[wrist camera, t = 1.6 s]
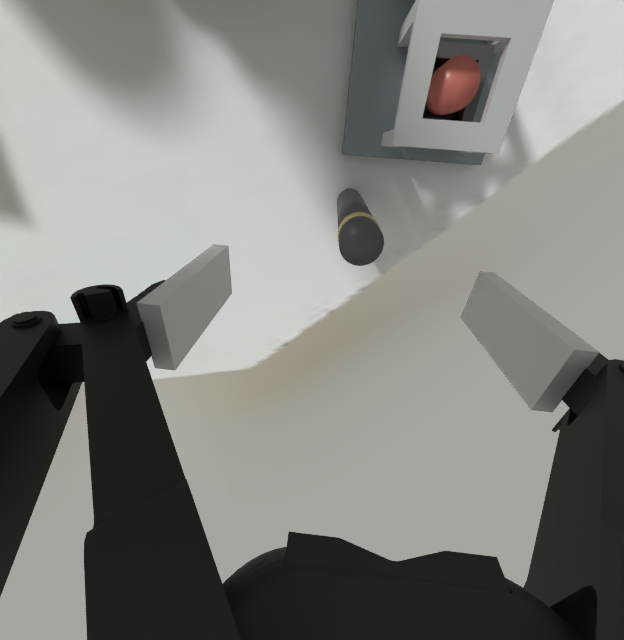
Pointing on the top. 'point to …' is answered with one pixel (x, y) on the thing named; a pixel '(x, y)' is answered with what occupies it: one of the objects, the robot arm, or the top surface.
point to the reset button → (453, 85)
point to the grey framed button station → (426, 57)
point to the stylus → (357, 230)
